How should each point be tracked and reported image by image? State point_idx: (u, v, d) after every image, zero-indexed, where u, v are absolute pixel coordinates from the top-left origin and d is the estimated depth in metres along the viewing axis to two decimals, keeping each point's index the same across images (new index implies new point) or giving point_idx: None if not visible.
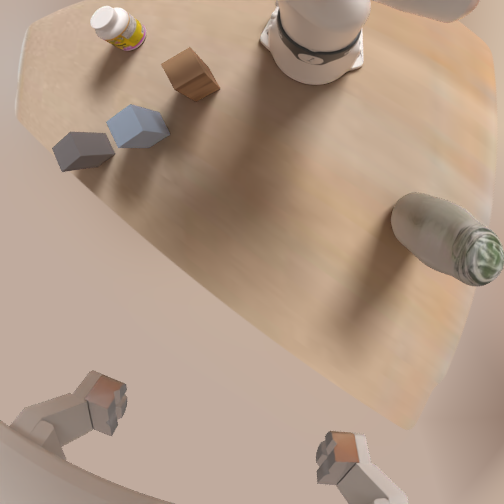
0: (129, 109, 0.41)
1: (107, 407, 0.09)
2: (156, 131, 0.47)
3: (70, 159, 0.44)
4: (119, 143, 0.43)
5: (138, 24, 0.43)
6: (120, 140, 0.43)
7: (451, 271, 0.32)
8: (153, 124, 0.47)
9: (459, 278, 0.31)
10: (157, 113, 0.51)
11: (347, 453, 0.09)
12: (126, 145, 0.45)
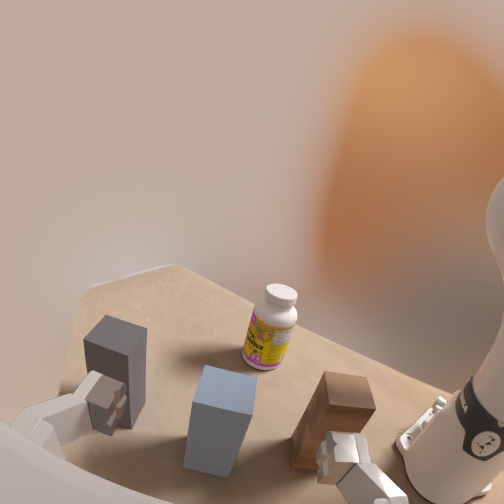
0: (250, 380, 0.27)
1: (107, 407, 0.09)
2: (239, 447, 0.25)
3: (110, 344, 0.27)
4: (200, 398, 0.24)
5: (287, 345, 0.47)
6: (206, 397, 0.24)
7: None
8: None
9: None
10: None
11: (347, 453, 0.09)
12: (199, 415, 0.24)
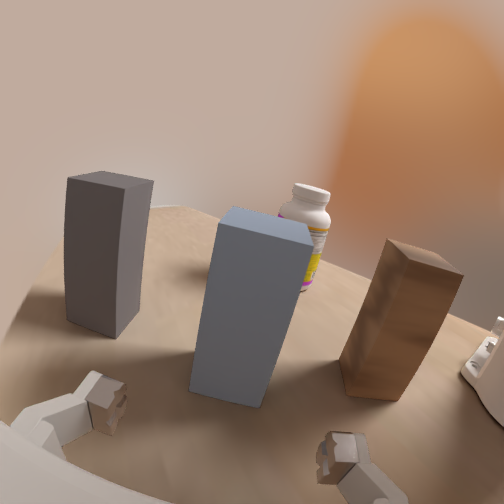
0: (299, 224, 0.20)
1: (107, 407, 0.09)
2: None
3: (103, 182, 0.20)
4: (229, 223, 0.16)
5: None
6: (238, 223, 0.17)
7: None
8: None
9: None
10: None
11: (347, 453, 0.09)
12: (225, 255, 0.16)
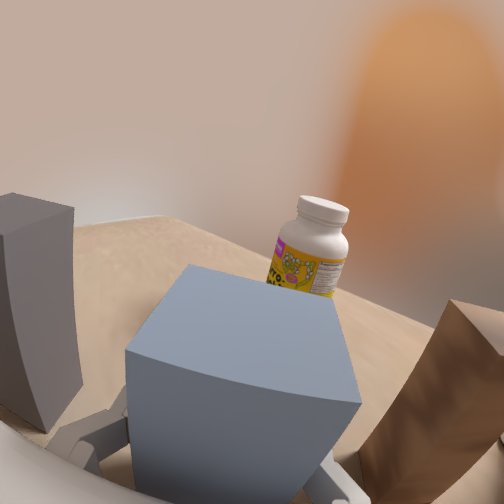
0: (319, 304, 0.10)
1: None
2: None
3: None
4: (156, 344, 0.06)
5: None
6: (180, 342, 0.07)
7: None
8: None
9: None
10: None
11: None
12: (155, 410, 0.06)
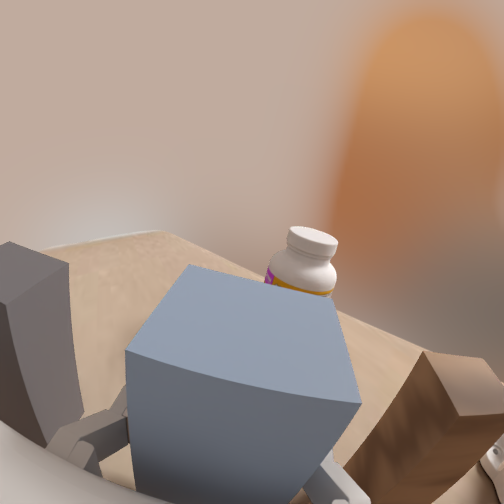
0: (319, 304, 0.10)
1: None
2: None
3: None
4: (156, 344, 0.06)
5: None
6: (180, 342, 0.07)
7: None
8: None
9: None
10: None
11: None
12: (155, 410, 0.06)
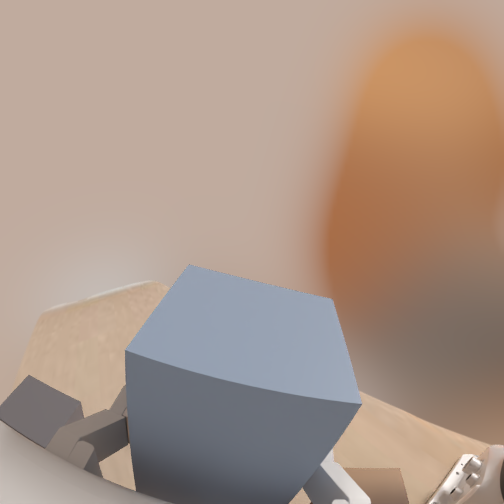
0: (319, 304, 0.10)
1: None
2: None
3: (27, 426, 0.14)
4: (156, 344, 0.06)
5: None
6: (179, 342, 0.07)
7: None
8: None
9: None
10: None
11: None
12: (155, 410, 0.06)
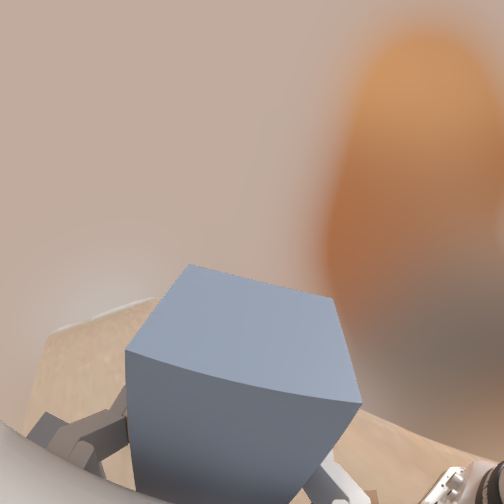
0: (319, 304, 0.10)
1: None
2: None
3: None
4: (156, 343, 0.06)
5: None
6: (180, 341, 0.06)
7: None
8: None
9: None
10: None
11: None
12: (155, 410, 0.06)
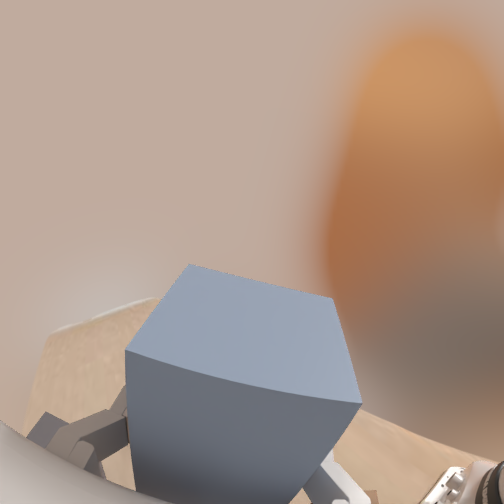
0: (319, 304, 0.10)
1: None
2: None
3: None
4: (156, 344, 0.06)
5: None
6: (180, 341, 0.06)
7: None
8: None
9: None
10: None
11: None
12: (154, 410, 0.06)
